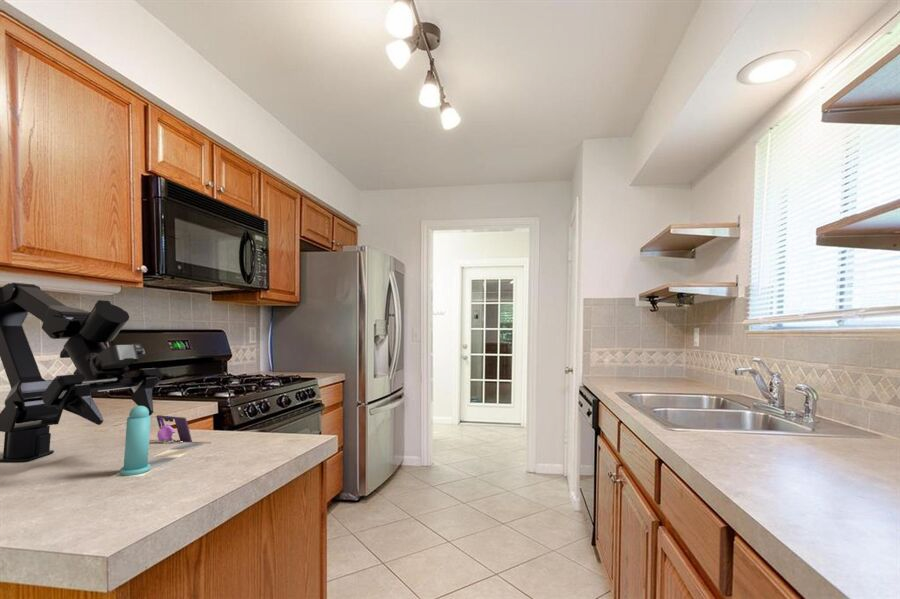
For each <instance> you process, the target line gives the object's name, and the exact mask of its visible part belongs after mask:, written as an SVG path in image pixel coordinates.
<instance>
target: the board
mask: <svg viewBox="0 0 900 599" xmlns="http://www.w3.org/2000/svg"><path fill="white" fill-rule="evenodd" d="M173 444H175V446H174V447H171V448H170V449H166V450H165V451H163V452H161V453H159V454H156V455H154V456H153V457H150V458H148V464H150V465H151V467H150V471H148V472H146V473H143V474H139V475H132V476H122V475H120V471H119V472H117V473H115V474H113V475H111V476H110V478H111V477H112V478H114V477H115V478H120V477H121V478H125V477H127V478H130V477H131V478H133V477H134V478H136V477H137V478H138V477H139V478H140V477H142V476H145V475H146V474H148V473H150V472H152V471H155V470H156V469H159V467H162V466H164V465H166V464H168V463H170V462H172V461H174V460H176V459H177V458H179V457H182V456H183V455H185V454H188V453H190V452H192V451H193V450H195V449H197V448H199V447H202V446H203V445H207V444H208V445H210V444H212V442H211V441H192V442H177V441H174V442H173V443H172V445H173ZM176 444H177V445H176Z"/></svg>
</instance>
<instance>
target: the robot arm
mask: <svg viewBox="0 0 900 599" xmlns="http://www.w3.org/2000/svg"><path fill="white" fill-rule="evenodd" d="M28 313H30V314H31V315H32V316H34V317H35V318H37V319H38V320H40V321H41V322H42V325H41V329H42V331H43V332H44V333H45V334H46V335H47V336H48V337H49V338H50V339H52V340H64V339H65V340H66V339H67V340H66V342H65V343H64V345H63V348H62V349H61V351H60V353H59V358H60V359H68V358H70V360H71V362H72V363H73V365H74V367H75V370H74V372H72V373H73V374H63V375H62V374H60V375H56V376H55V377H54V378H53V379H48V380H47V379H45V378H43V377H42V375H41V372H40V369H39V366H38V365H37V364H38V363H37V361H36V359H35V355H34V353H33V351H32V350H33V349H32V348H31V346H30V342H29V340H28V338H27V337H28V336H27V335H26V332H25V330H24V327H23V323H24V322H25V320H26V318H27V317H28ZM129 319H130V314H129V313H128V311H126V310H124V309H123V308H121V307H119V306H117V305H115V304H112V303H111V301H110V300H101V299H99V300H97V301H96V303H95V304H94V307H93V308H92V310H90V311H88V310H84V309H83V308H82V309H80V308H77V307H72V306H67V305H65V304H64V303H62V302H61V301H59V300H57V299H56V298H54V297H53V296H52V295H50V294H48V293H46V292H45V291H44V290H42V289H41V287H40V286H39V285H36V284H34V283H24V282H11V283H9V282H8V283H5V285H3V286H1V287H0V360H1V363H2V366H3V369H4V372H5V374H6V377H7V381H8V383H9V386H10V391H9V392H8V394H7V396H6V398H5V400H4V408H3V409H2V411H0V432H1V433H4V440H3V441H4V442H3V449H2V450H3V454H2V456H1V457H0V462H30V461H33V460H35V459H36V460H37V459H38V458H42V457H45V456H47V455H50V454H53V453H55V450H54V449H53V450H51V449H50V448H51V438H52V437H51V435H52V434H51V433H50V429H51V428H50V426H52V425H53V426H55V425H60V424H59V423H60V420H61V417H62V413H63V411H66V412H69V413H71V414H74V415H77V416H78V417H81V418H84V419H85V420H87V421H89V422H91V423H93V424H95V425H98V426H100V425H102V424H103V422H104V419H103V418H104V417H103V416H102V413H101V412H100V409H99V408H98V406H97V404H96V403H95V401H94V399H93V396H92V395H91V393H96V392H98V393H99V392H100V393H101V392H107V391H117V390H123V389H125V390H126V391H127V393H128V394H130V395H131V396H130V399H131V400H132V401H133V403H135V404H136V405H137V406H145V407H146V408H147V409H148V410H149V416H152V415H153V414H154V402H153V401H154V400H153V389H155V387H156V386H157V385H158V383H159V382H160V381H161V380H162V378H163V377H164V375H163V373H162V372H161V370H160V369H159V367H158V368H157V367H152V368H151V367H150V368H139V369H137V371H136V372H135V373H134V374H133V375H132V376H131V377H124V374H127V373H128V371H129V370H130V367H129V365H132V364H133V363H135V362H138V361H140V360H142V359H143V358H144V357H145V356H146V351H145V349H144V347H143V346H142V344H141V343H131V344H114V345H110V346H108V347H107V346H106V345H105V344H104V343H110V342H112V341H114V339H115V338H116V337H117V336H118V334H119V332H120V331H121V330H122V329H123V327H124V326H125V325H126V324H127V322H128V321H129Z"/></svg>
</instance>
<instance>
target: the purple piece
mask: <svg viewBox="0 0 900 599" xmlns="http://www.w3.org/2000/svg"><path fill="white" fill-rule="evenodd" d="M155 418H156V420H157V423H158V428H159V430H158V432H157V439H158V440H159V441H160V442H161V443H162V445H166V443H168V442H169V441H170V440H174V438H172V437H173V434H175V433H176V431H174V428H173V427H172V426H170V425H169V424H165V422H171V423H173V422H174V423H175V426H176V430H177V434H178V439H176V440H177V441H183V442H193V440H192V434H191V433H190V432H191V431H190V428H189V425H188V420H187V418H186V417H182V416H181V417H180V416H170V415H169V416H168V415H156V416H155ZM164 421H165V422H164ZM177 441H176V442H177ZM170 442H171V441H170Z"/></svg>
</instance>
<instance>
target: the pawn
mask: <svg viewBox="0 0 900 599" xmlns="http://www.w3.org/2000/svg"><path fill="white" fill-rule="evenodd" d="M128 415H129V416H128V417H127V418H126V427H125V428H126V430H125V443H124V444H125V445H124V459H123V467H121V468H120V469H119V472H120V475H122V476H132V475H139V474H143V473H146V472H148V471H150V467H152V466H151V465H150V464H148V459H149V449H150V448H149V446H150V434H151V433H150V432H151V431H150V430H151V416H152V415H149V410H148V409H147V408H146V407H145V406H138V405H137V406H135V407H133V408H132V409H131V410H130V411H129V414H128ZM150 472H151V471H150Z"/></svg>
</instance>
